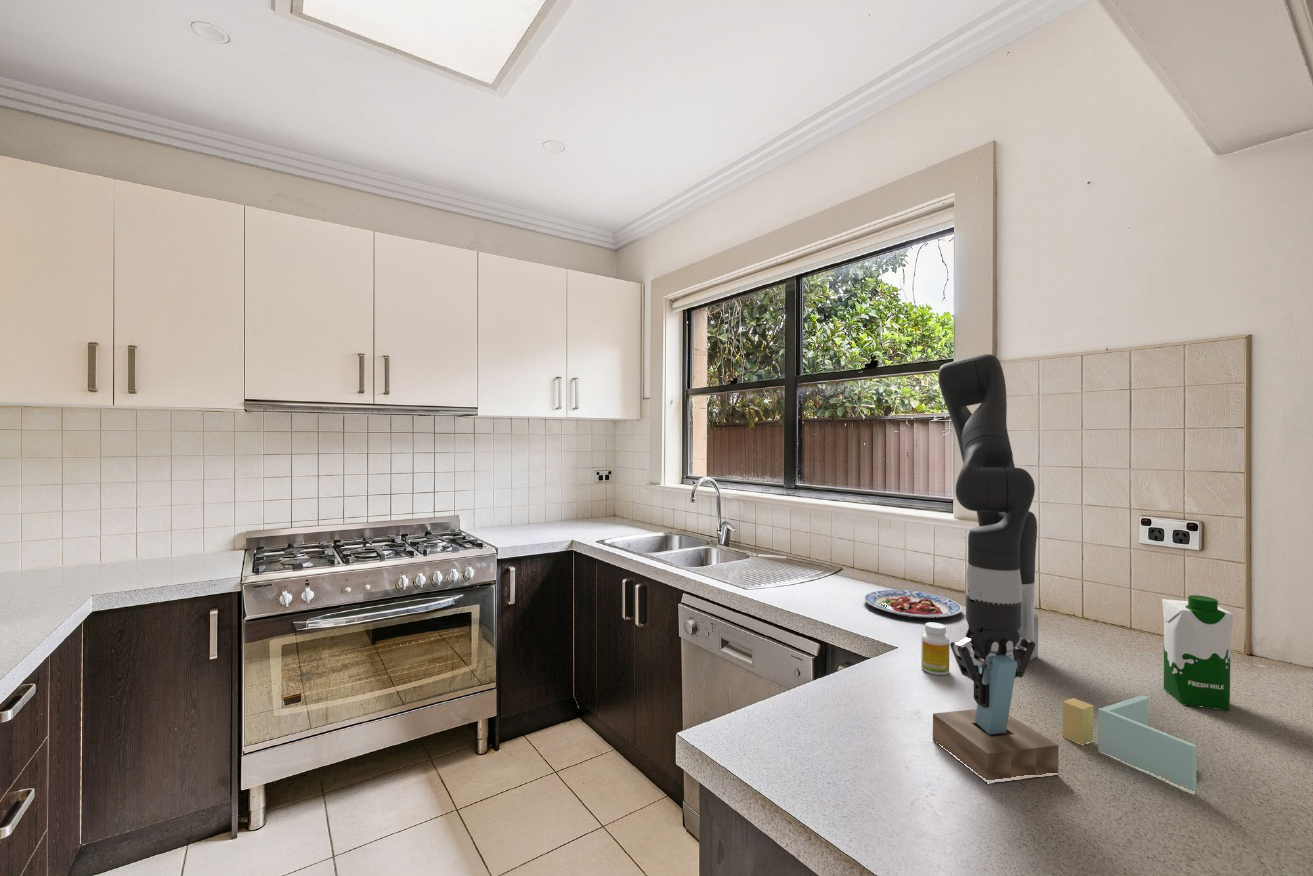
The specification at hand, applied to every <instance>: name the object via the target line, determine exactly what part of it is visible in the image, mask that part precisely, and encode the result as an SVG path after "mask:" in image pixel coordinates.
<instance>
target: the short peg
mask: <svg viewBox="0 0 1313 876" xmlns="http://www.w3.org/2000/svg"><path fill="white" fill-rule="evenodd" d="M1063 736H1064V737H1066V738H1069V739H1071V740H1074V741H1075V742H1078V743H1080V744H1086V743H1087V742H1091V741H1092V740H1093V741H1094V705H1093V704H1091V703H1088V702H1086V701H1082V700H1079V699H1077V698H1075V697H1072V698H1070V699H1067V700H1064V701H1062V737H1063Z"/></svg>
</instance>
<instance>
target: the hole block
mask: <svg viewBox="0 0 1313 876" xmlns="http://www.w3.org/2000/svg"><path fill="white" fill-rule="evenodd" d="M976 712H977V708H974V709H967V710H965V709H964V710H955V711H945V712H944V711H943V712H937V713H936V712H935V713H934V712H933V713H932V741H933V740H934V741H935V742H937V743H938V744H940V745H941V746H943V748H945V749H946V750H948V751H949V752H951V753H952V754H953V755H955V756H956V757H957V758H958V759H960V761H962V762H963V763H964V764H966V765H967V766H968V767H970V768H971V769H973V771H975V772H976V773H978V775H980V776H982V777H983V778H985V779H986V780H995V779H1003V778H1011V777H1016V776H1024V775H1042V774H1046V773H1058V774H1059V747H1060V745H1059V744H1057V743H1055V742H1054V741H1053V740H1051V739H1049V738H1048V737H1046V736H1044V735H1043V734H1041V733H1039V732H1037V731H1036V730H1035V729H1033V728H1031V727H1030V726H1028V725H1027V724H1024V722H1022V721H1020V720H1018V719H1017V718H1015V717H1014V716H1011V714H1009V716H1008V723H1007V729H1006V733H999V734H988V733H987V732H986V731H984V730H983V729H982V728H981V727H980V726H979V725H978V724H977V723H976V722H975V718H976ZM934 741H933V742H934ZM935 742H934V743H935ZM938 744H937V745H938ZM943 748H942V749H943Z"/></svg>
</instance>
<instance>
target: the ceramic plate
mask: <svg viewBox="0 0 1313 876" xmlns="http://www.w3.org/2000/svg"><path fill="white" fill-rule="evenodd" d="M863 600H864V601H865V602H866V603H867V604H868V605H870V606H872V607H874V608H875V609H879V610H881V611H885V612H888V613H890V612H891V614H893V613H895V614H894V615H897V614H899V615H898V616H901V615H903V616H902V617H906V616H911V617H910V618H914V617H920V618H919V619H934V618H935V617H936V618H944V617H945V618H946V617H947V618H948V617H952V616H955V615H958V614H960V613H961V612H962V610H963V608H962V606H961V604H959V603H958V602H957V601H955V600H953V599H950V598H948V597H946V596H945V597H944V596H941V595H939V594H934V593H927V592H923V591H915V590H907V589H881V590H874V591H871V592H869V593H866V594H865V595H864V599H863ZM913 600H915V601H913ZM917 601H918V602H917ZM882 603H883V604H884V603H886V604H887V605H888V606H891V607H892V609H893V610H890V609H887V608H886V607H887V605H886V607H885V604H884V605H883V604H882ZM880 604H881V605H880ZM882 606H883V607H882ZM937 606H939V607H937ZM884 607H885V608H884ZM940 608H941V609H940ZM894 610H895V611H894ZM941 610H943V611H941ZM936 618H935V619H936Z"/></svg>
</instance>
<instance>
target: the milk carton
mask: <svg viewBox="0 0 1313 876" xmlns="http://www.w3.org/2000/svg"><path fill="white" fill-rule="evenodd" d="M1187 597H1188V599H1187V600H1177V599H1163V598H1162V599H1161V602H1162V611H1163V612H1162V613H1163V690H1164V689H1165V690H1166V691H1167V693H1168V692H1169V693H1168V694H1169V695H1170V694H1171V695H1172V696H1171V695H1170V696H1171V697H1173V698H1174V699H1175V698H1176V699H1177V700H1178V702H1179V703H1180V702H1181V703H1180V704H1181V705H1182V704H1186V705H1185V706H1187V705H1190V706H1189V707H1195V706H1203V707H1206V708H1205V709H1211V708H1216V709H1215V710H1219V709H1221V710H1220V711H1227V710H1230V709H1231V645H1232V644H1231V642H1232V641H1231V635H1232V628H1233V621H1234V616H1235V615H1234V613H1232V612H1230V611H1228V610H1226V609H1224V608H1222V607H1220V606H1219V605H1218V604H1219V600H1218V599H1216V598H1213V597H1209V596H1206V595H1204V596H1203V595H1196V594H1195V595H1194V594H1193V595H1192V594H1191V595H1188V596H1187ZM1165 690H1164V691H1165ZM1166 691H1165V692H1166ZM1176 699H1175V700H1176ZM1177 700H1176V701H1177ZM1203 707H1202V708H1203ZM1217 708H1218V709H1217ZM1230 711H1231V710H1230Z"/></svg>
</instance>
